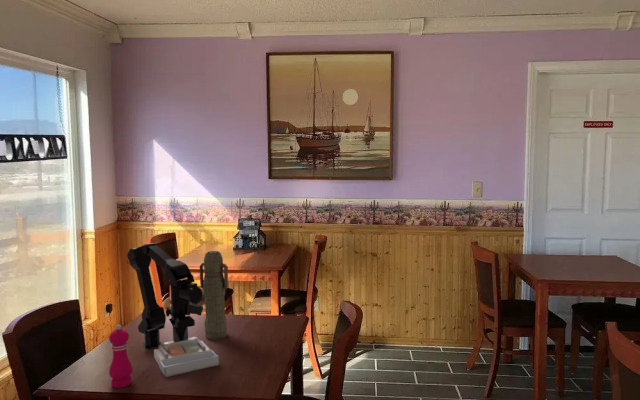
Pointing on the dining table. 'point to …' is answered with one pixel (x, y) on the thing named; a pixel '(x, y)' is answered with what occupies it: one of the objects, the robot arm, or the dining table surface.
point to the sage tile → (190, 348)
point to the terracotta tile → (176, 351)
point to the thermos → (214, 294)
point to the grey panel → (180, 341)
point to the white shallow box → (163, 355)
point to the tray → (188, 363)
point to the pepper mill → (120, 359)
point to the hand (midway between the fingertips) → (180, 339)
